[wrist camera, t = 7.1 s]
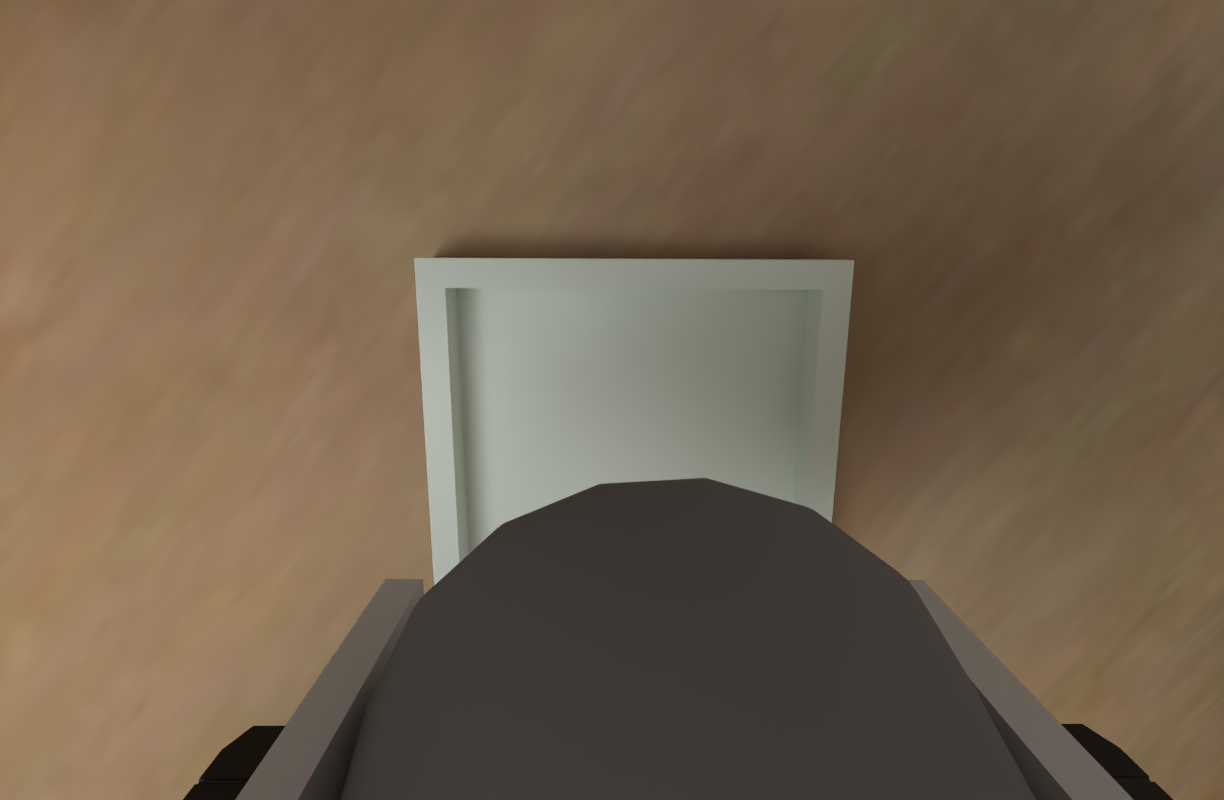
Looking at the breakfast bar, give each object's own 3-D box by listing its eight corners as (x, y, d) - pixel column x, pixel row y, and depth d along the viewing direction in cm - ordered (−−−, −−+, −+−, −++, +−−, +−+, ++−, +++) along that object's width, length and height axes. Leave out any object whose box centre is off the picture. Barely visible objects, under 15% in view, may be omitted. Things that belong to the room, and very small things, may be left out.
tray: (433, 257, 25) (413, 258, 22) (829, 259, 25) (854, 259, 22) (452, 615, 28) (438, 650, 25) (802, 615, 28) (820, 650, 26)
